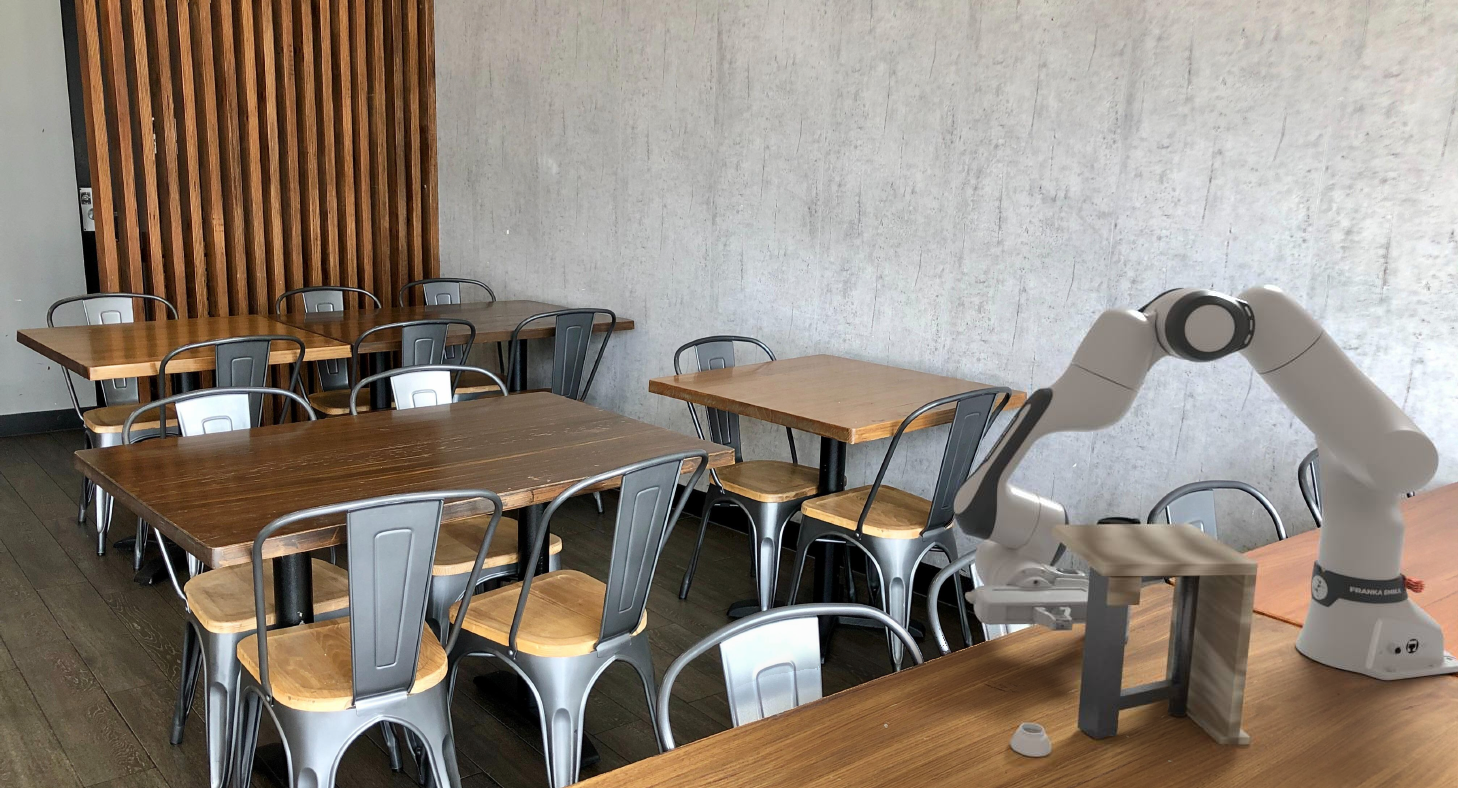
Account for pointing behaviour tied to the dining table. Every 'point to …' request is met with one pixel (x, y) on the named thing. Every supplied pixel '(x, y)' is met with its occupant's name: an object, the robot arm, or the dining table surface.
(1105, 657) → the frame
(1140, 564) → the side table
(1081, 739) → the dining table surface
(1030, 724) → the white jar
